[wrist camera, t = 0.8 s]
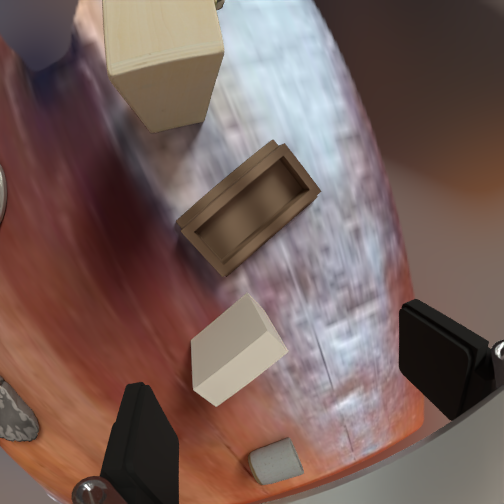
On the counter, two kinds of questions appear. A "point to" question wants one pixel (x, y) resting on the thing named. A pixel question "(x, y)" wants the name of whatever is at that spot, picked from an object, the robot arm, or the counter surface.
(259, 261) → the counter surface
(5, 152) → the counter surface
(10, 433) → the brain slice
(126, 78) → the toy refrigerator
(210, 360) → the rectangular block
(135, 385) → the robot arm
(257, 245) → the brown wooden tray
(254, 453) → the ceramic mug
